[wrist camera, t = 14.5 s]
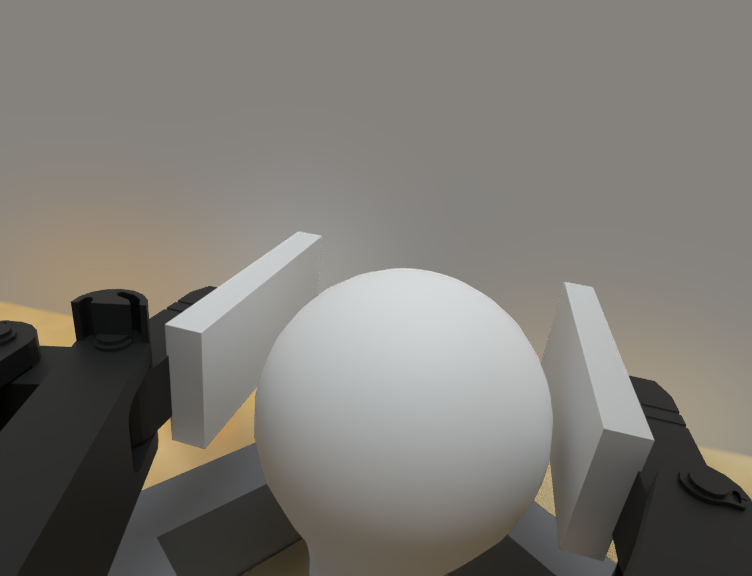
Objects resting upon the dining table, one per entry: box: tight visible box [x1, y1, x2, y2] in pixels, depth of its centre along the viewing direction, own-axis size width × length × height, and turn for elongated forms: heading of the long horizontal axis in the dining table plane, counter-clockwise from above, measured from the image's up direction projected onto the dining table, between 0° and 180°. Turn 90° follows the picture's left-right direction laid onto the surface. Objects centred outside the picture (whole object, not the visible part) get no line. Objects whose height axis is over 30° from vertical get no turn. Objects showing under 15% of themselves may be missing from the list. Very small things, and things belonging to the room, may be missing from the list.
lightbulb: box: [254, 268, 553, 576], centre depth 12 cm, size 6×6×11 cm
